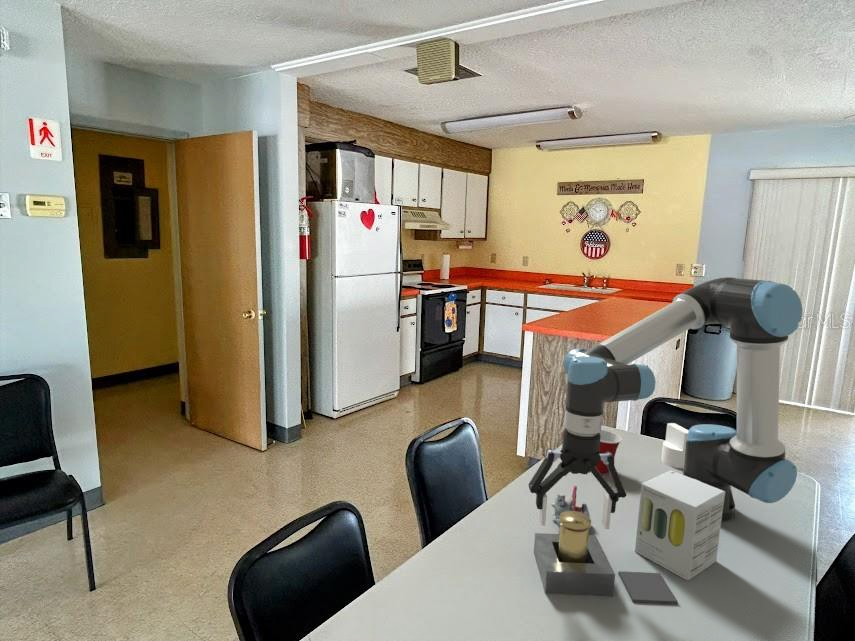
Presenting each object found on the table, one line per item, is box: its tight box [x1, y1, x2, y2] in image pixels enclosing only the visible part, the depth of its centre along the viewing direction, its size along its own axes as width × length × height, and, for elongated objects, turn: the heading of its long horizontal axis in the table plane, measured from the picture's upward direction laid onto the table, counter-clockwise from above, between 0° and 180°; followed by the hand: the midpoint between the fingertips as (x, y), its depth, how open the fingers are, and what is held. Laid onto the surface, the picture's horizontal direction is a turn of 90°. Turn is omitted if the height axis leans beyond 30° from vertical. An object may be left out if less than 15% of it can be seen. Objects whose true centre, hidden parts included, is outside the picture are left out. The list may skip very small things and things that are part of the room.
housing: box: [533, 532, 616, 597], centre depth 115 cm, size 14×14×5 cm
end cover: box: [558, 511, 592, 563], centre depth 115 cm, size 7×7×13 cm
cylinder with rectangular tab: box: [661, 422, 689, 470], centre depth 174 cm, size 9×9×12 cm
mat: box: [618, 570, 679, 605], centre depth 111 cm, size 9×9×1 cm
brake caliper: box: [551, 485, 591, 531], centre depth 134 cm, size 11×11×12 cm
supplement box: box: [634, 469, 725, 581], centre depth 121 cm, size 13×13×18 cm
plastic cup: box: [595, 429, 623, 475], centre depth 166 cm, size 11×11×12 cm
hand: (573, 524), depth 114 cm, fingers open, 13 cm apart
